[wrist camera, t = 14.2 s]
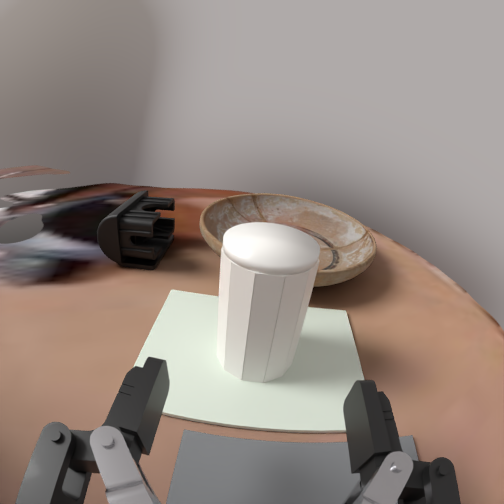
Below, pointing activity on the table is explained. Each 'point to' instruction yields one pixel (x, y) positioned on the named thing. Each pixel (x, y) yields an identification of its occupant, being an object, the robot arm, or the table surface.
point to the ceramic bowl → (304, 219)
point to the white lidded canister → (263, 298)
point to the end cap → (137, 232)
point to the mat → (263, 471)
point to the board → (253, 393)
